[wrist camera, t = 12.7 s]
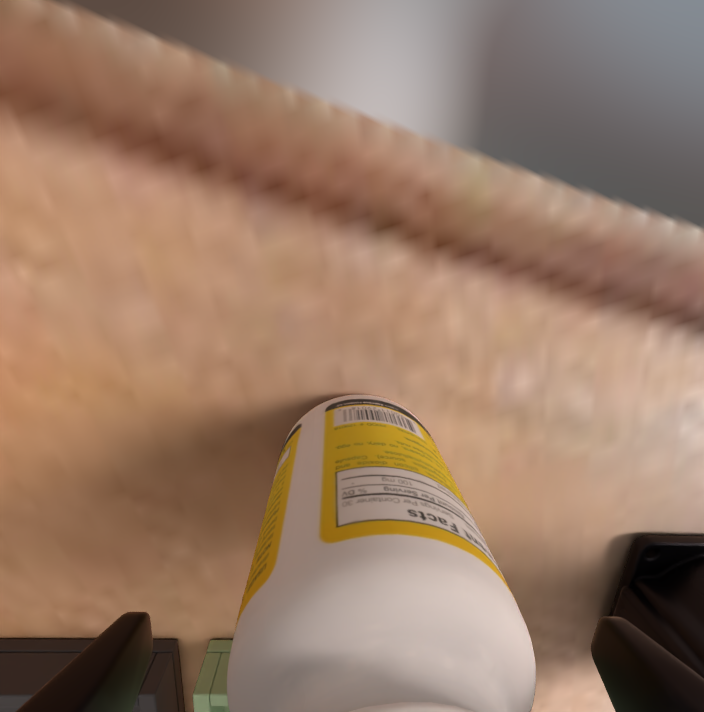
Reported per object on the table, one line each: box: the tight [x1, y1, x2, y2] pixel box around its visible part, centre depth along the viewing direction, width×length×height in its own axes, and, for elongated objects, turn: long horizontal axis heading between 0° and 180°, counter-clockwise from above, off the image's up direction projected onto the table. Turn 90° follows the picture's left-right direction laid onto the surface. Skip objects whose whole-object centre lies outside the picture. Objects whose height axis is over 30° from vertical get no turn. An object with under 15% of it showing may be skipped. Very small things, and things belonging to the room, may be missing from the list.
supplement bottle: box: [227, 394, 536, 712], centre depth 8 cm, size 5×5×10 cm
